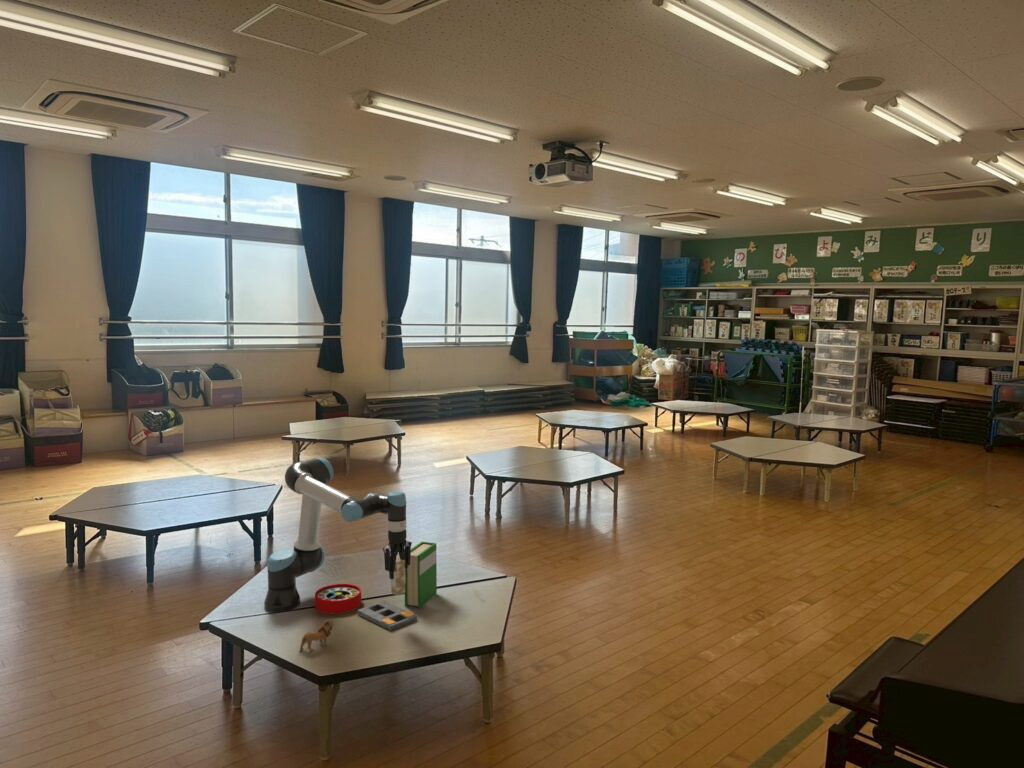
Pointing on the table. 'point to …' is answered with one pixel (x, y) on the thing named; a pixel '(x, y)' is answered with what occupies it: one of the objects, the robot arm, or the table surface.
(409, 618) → the slotted board
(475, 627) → the table surface
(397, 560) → the peg
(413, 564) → the hardback book
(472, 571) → the table surface
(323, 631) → the lion figurine
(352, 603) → the toy clock
